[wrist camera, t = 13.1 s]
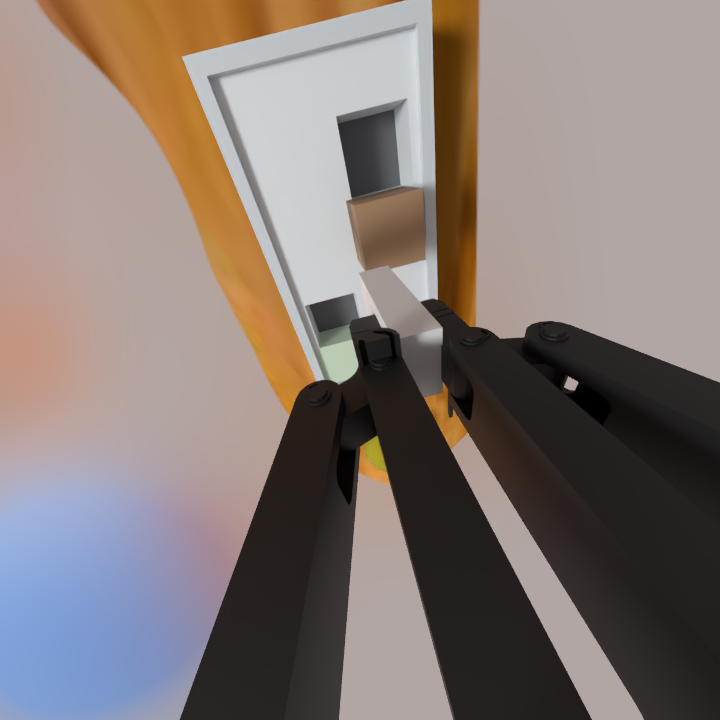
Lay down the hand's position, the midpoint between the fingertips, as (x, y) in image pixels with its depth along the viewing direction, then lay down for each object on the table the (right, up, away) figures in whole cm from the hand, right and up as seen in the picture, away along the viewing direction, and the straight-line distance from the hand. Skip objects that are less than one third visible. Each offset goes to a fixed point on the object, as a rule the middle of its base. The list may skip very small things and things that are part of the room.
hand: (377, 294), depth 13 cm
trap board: (-2, +8, +15) cm, 17 cm away
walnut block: (+1, +9, +10) cm, 13 cm away
